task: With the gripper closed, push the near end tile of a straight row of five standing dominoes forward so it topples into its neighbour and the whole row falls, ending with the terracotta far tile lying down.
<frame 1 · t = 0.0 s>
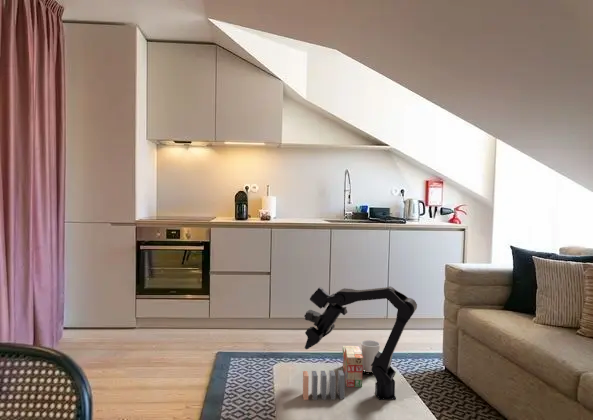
hand: (310, 345, 184), 15 cm above the table, tool tilted 35°, fingers open, 9 cm apart
stack of blocks: (351, 376, 191), on the table
domino 3: (323, 396, 172), on the table
domino 2: (332, 396, 172), on the table
cup: (369, 371, 196), on the table
domino 1: (340, 395, 172), on the table
domino 5: (305, 396, 171), on the table
domino 4: (314, 396, 171), on the table
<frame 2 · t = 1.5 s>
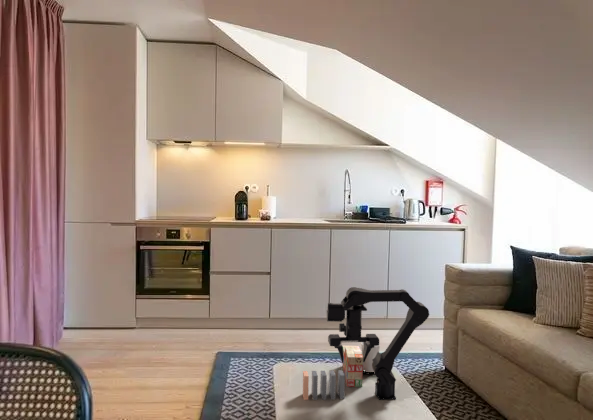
hand: (353, 362, 172), 13 cm above the table, tool pointing down, fingers open, 8 cm apart
nothing on the table moved.
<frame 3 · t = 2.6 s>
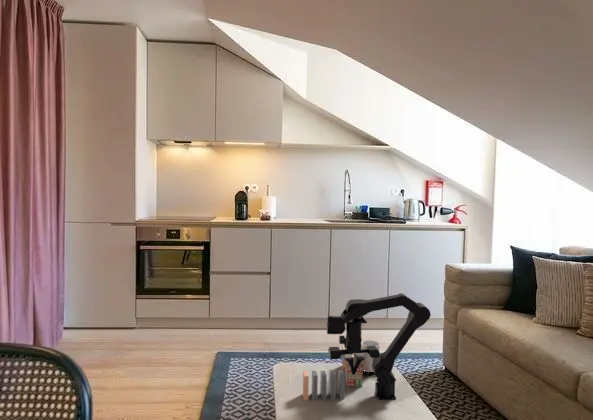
hand: (353, 374, 172), 8 cm above the table, tool pointing down, fingers closed
nothing on the table moved.
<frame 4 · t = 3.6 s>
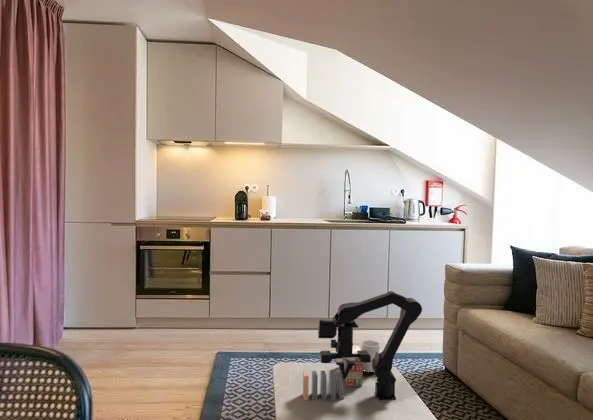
hand: (344, 378, 172), 7 cm above the table, tool pointing down, fingers closed
domino 1: (340, 395, 172), on the table, tilted 8°
everything else where it was.
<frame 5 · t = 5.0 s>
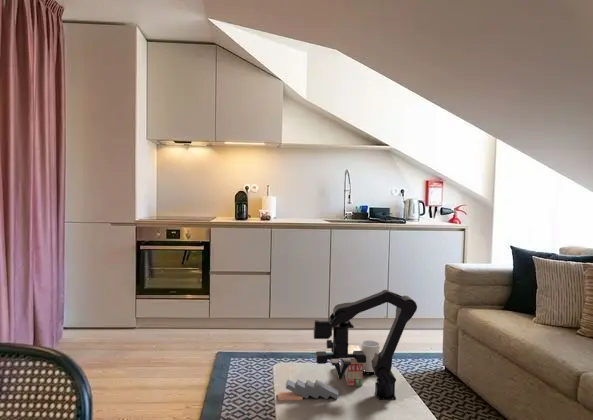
hand: (340, 379, 172), 6 cm above the table, tool pointing down, fingers closed
domino 3: (317, 394, 172), point 1 cm above the table, tilted 64°, touching domino 2, domino 4
domino 2: (327, 394, 172), point 1 cm above the table, tilted 64°, touching domino 1, domino 3
domino 1: (337, 394, 172), point 1 cm above the table, tilted 64°, touching domino 2
domino 5: (302, 396, 171), on the table, tilted 90°, touching domino 4
domino 4: (308, 394, 171), point 1 cm above the table, tilted 64°, touching domino 3, domino 5
everything else where it was.
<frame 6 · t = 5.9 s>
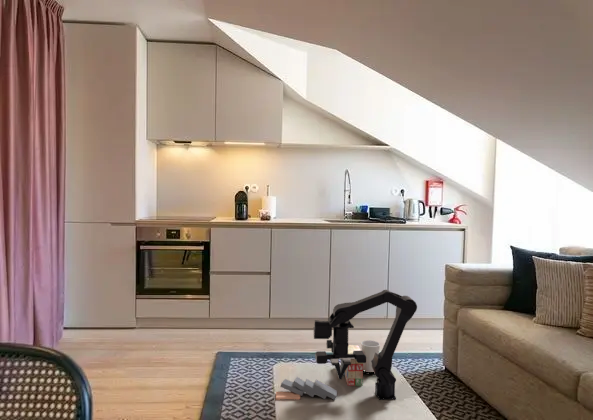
hand: (340, 379, 172), 6 cm above the table, tool pointing down, fingers closed
domino 3: (315, 393, 172), point 1 cm above the table, tilted 64°, touching domino 2, domino 4
domino 1: (335, 395, 171), point 1 cm above the table, tilted 64°, touching domino 2
domino 4: (304, 391, 173), point 1 cm above the table, tilted 76°, touching domino 3, domino 5
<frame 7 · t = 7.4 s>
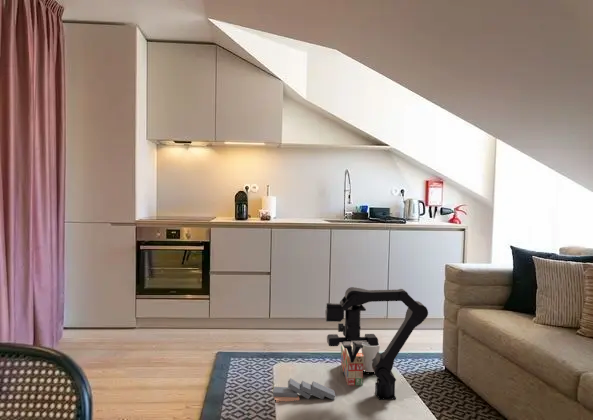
hand: (351, 362, 172), 13 cm above the table, tool pointing down, fingers closed
domino 3: (309, 394, 171), point 1 cm above the table, tilted 59°, touching domino 2, domino 4
domino 2: (323, 394, 171), point 1 cm above the table, tilted 66°, touching domino 1, domino 3
domino 4: (297, 392, 171), point 2 cm above the table, tilted 90°, touching domino 3, domino 5
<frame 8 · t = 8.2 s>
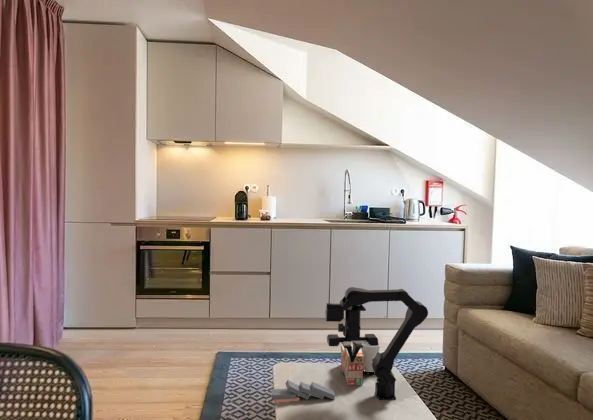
hand: (351, 362, 172), 13 cm above the table, tool pointing down, fingers closed
domino 3: (307, 394, 171), point 1 cm above the table, tilted 59°
domino 2: (322, 394, 171), point 1 cm above the table, tilted 67°, touching domino 1
domino 4: (295, 393, 170), point 2 cm above the table, tilted 90°, touching domino 5
at the end: domino 5 tilted 90°; domino 1 tilted 68° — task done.
